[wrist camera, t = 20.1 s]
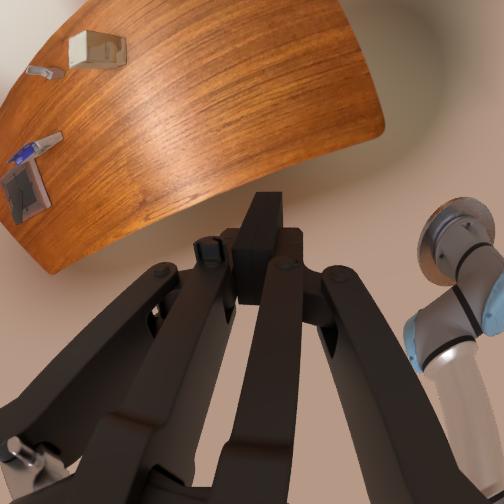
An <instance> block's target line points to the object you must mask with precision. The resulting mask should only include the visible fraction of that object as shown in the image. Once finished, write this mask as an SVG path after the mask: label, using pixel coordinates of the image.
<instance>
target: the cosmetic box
mask: <svg viewBox="0 0 504 504" xmlns="http://www.w3.org/2000/svg"><path fill="white" fill-rule="evenodd" d="M124 64H126V41H125V38H123V37H119V36H114V35H110V34H105V33H100V32H95V31H89V30H85V31H83V32H81V33H79V34H77V35H75V36H73V37H71V38H70V39H69V68H85V69H113V68H116V67H119V66H122V65H124Z"/></svg>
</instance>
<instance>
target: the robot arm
mask: <svg viewBox="0 0 504 504" xmlns="http://www.w3.org/2000/svg"><path fill="white" fill-rule="evenodd" d="M193 246H194V251H195V255H196V260H197V263H196V264H195V266H194V268H193V269H189V270H183V271H178V270H177V266H176V265H175V264H173V263H170V262H163V263H158V264H156V265H154V266H152V267H151V268H149V269H148V270H147V271H146V272H145V273H143V274H142V275H141V276H140V277H139V278H138V279H137V280H136V281H134V282H133V283H132V284H131V285H130V286H129V287H128V288H127V289H126V290H125V291H123V292H122V293H121V294H120V295H119V296H118V297H117V298H116V299H115V300H114V301H112V302H111V303H110V304H109V305H108V306H107V307H106V308H105V309H104V310H103V311H102V312H101V313H100V314H99V315H97V316H96V318H94V319H93V320H92V321H91V322H90V323H89V324H88V325H87V326H86V327H85V328H84V329H83V330H82V331H81V332H80V333H79V334H78V335H77V336H76V337H75V338H74V339H73V340H72V341H71V342H70V343H69V344H68V345H67V346H66V347H65V348H64V349H63V350H62V351H61V352H60V353H59V354H58V355H57V356H56V357H55V358H54V359H53V360H52V361H51V362H50V363H49V364H48V365H47V366H46V367H45V368H44V370H43V371H42V372H41V373H40V374H39V375H38V376H37V377H36V378H35V379H34V380H33V381H32V382H31V384H30V385H29V386H28V387H27V388H26V389H25V390H24V391H23V392H22V393H21V394H20V396H19V397H18V398H16V399H15V400H13V401H12V402H10V403H9V404H7V405H5V406H4V407H2V408H0V465H1V469H2V472H3V475H4V478H5V481H6V484H7V486H8V489H9V492H10V494H11V497H12V499H13V501H12V502H11V503H10V504H289V503H287V497H288V490H289V482H290V475H291V467H292V457H293V445H294V435H295V424H296V413H297V412H296V411H297V402H298V388H299V374H300V357H301V336H302V322H304V323H308V324H312V325H315V326H317V331H318V335H319V337H320V340H321V343H322V346H323V349H324V352H325V355H326V358H327V361H328V364H329V367H330V370H331V373H332V376H333V379H334V382H335V385H336V388H337V391H338V395H339V398H340V401H341V404H342V407H343V410H344V414H345V417H346V420H347V423H348V427H349V430H350V433H351V437H352V440H353V443H354V447H355V450H356V454H357V457H358V460H359V464H360V468H361V471H362V475H363V478H364V482H365V486H366V490H367V493H368V496H369V500H370V502H371V504H504V457H503V451H502V447H501V442H500V437H499V433H498V429H497V425H496V422H495V417H494V414H493V410H492V407H491V404H490V400H489V397H488V394H487V391H486V388H485V385H484V382H483V380H482V377H481V375H480V371H479V369H478V366H477V364H476V361H475V355H476V352H477V349H478V346H477V343H476V341H475V339H476V338H477V337H478V336H480V335H481V334H483V333H484V334H486V335H487V336H495V335H496V334H497V335H498V334H500V333H501V332H503V331H504V258H503V257H502V256H501V255H500V253H499V252H498V251H497V250H496V249H495V248H494V247H493V246H492V244H491V241H490V239H489V236H488V234H487V232H486V229H485V227H484V226H483V225H482V224H481V223H480V222H479V221H478V220H477V219H476V218H474V217H471V216H461V217H458V218H456V219H454V220H452V221H451V222H450V223H448V224H447V225H446V226H445V227H444V228H443V230H442V231H441V233H440V234H439V236H438V238H437V240H436V243H435V247H434V260H435V263H436V265H437V267H438V269H439V270H440V272H441V273H442V274H443V275H445V276H446V277H448V278H450V279H451V280H453V281H454V282H456V284H455V285H454V286H453V287H451V288H452V289H451V288H450V289H449V290H448V291H446V292H445V293H444V294H443V295H441V296H440V297H439V298H437V299H436V300H435V301H433V302H432V303H430V304H429V305H428V306H426V307H425V308H424V309H420V310H419V311H418V312H417V313H416V314H415V315H414V316H413V317H411V318H410V319H409V320H408V321H407V322H406V324H405V325H404V330H403V338H404V344H405V348H406V352H407V355H408V356H409V357H410V362H411V364H410V362H409V360H408V358H407V356H406V354H405V353H404V351H403V349H402V347H401V346H400V344H399V342H398V340H397V338H396V337H395V335H394V333H393V332H392V330H391V328H390V326H389V325H388V323H387V321H386V319H385V318H384V316H383V314H382V313H381V312H380V309H379V308H378V306H377V305H376V303H375V301H374V300H373V298H372V296H371V295H370V294H369V292H368V290H367V289H366V287H365V285H364V284H363V283H362V281H361V279H360V278H359V276H358V274H357V273H356V272H355V271H354V270H353V269H351V268H349V267H346V266H342V265H334V266H330V267H327V268H326V269H324V270H323V272H322V273H318V272H315V271H312V270H310V269H308V268H307V267H306V266H305V265H304V262H303V232H302V231H301V230H300V229H299V228H283V206H282V192H256V194H255V196H254V198H253V201H252V203H251V205H250V208H249V209H248V212H247V214H246V216H245V219H244V221H243V223H242V226H241V228H227V229H226V230H224V231H223V232H222V233H221V234H220V236H208V237H204V238H201V239H199V240H197V241H196V242H195V243H194V244H193ZM454 293H455V294H454ZM237 296H238V303H239V304H243V305H260V307H259V311H258V316H257V321H256V326H255V330H254V335H253V340H252V344H251V349H250V354H249V358H248V363H247V367H246V372H245V377H244V381H243V385H242V390H241V394H240V399H239V403H238V407H237V412H236V416H235V420H234V425H233V429H232V433H231V436H230V439H229V441H228V442H226V443H225V444H224V446H223V448H222V451H221V454H220V457H219V461H218V465H217V469H216V473H215V477H214V480H213V484H212V487H191V486H192V483H193V479H194V475H195V462H194V458H195V453H196V449H197V446H198V442H199V439H200V435H201V432H202V429H203V425H204V422H205V418H206V414H207V412H208V408H209V405H210V401H211V398H212V394H213V391H214V387H215V384H216V380H217V377H218V374H219V370H220V367H221V363H222V360H223V356H224V353H225V349H226V346H227V342H228V339H229V336H230V332H231V329H232V325H233V321H234V318H235V315H236V306H235V301H236V298H237ZM459 302H460V303H459ZM155 306H157V309H158V313H157V314H156V315H153V313H152V310H153V308H155ZM412 366H413V367H412ZM413 368H414V369H415V370H416V372H418V373H424V376H425V378H427V379H430V380H433V381H434V382H435V385H436V389H437V392H438V396H439V400H440V403H441V407H442V411H443V415H444V419H445V424H446V428H447V433H448V438H449V443H450V445H449V443H448V440H447V438H446V436H445V433H444V431H443V429H442V426H441V424H440V422H439V420H438V418H437V415H436V413H435V411H434V409H433V407H432V405H431V403H430V401H429V399H428V397H427V395H426V393H425V391H424V389H423V387H422V385H421V383H420V381H419V379H418V377H417V375H416V373H415V371H414V370H413ZM82 455H83V456H82ZM81 456H82V458H81V460H80V463H79V465H78V467H77V470H76V472H75V473H74V474H71V475H70V474H69V471H68V470H67V469H66V468H67V467H69V466H70V465H72V464H73V463H74V462H76V461H77V460H78V459H79V458H80V457H81Z"/></svg>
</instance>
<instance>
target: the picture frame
mask: <svg viewBox="0 0 504 504" xmlns="http://www.w3.org/2000/svg"><path fill="white" fill-rule="evenodd" d="M0 184H1V187H2V190H3V193H4V196H5V198H6V201H7V203H8V206H9V208H10V211H11V214H12V217H13V219H14V221H15V224H16V225H18V224H20V223H22V222H23V221H25V220H27V219H28V218H30V217H32V216H34V215H36V214H38V213H40V212H41V211H43V210H45V209H47V208H49V207H50V206H51V202H50V200H49V197H48V195H47V192H46V190H45V187H44V184H43V182H42V179H41V176H40V173H39V170H38V167H37V164H36V161H35V159H31V160H29V161H27V162H25V163H23V164H21V165H19V166H17V165H16V164H15V165H14V166H13V167H11V168H10V169H9V170H8V171H7V172H6V173H5V174H4V175H3V176H2V177H1V178H0Z"/></svg>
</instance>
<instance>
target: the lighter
mask: <svg viewBox="0 0 504 504" xmlns="http://www.w3.org/2000/svg"><path fill="white" fill-rule="evenodd" d="M26 73H27V74H39V75H42V76H44V77H46V78H48V79H59V78H63V77H64V75H65V73H66V72H65V71H64V70H62V69H60V68H58V67H49V68H43V66H30V65H29V66H28V68H27V71H26Z"/></svg>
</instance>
